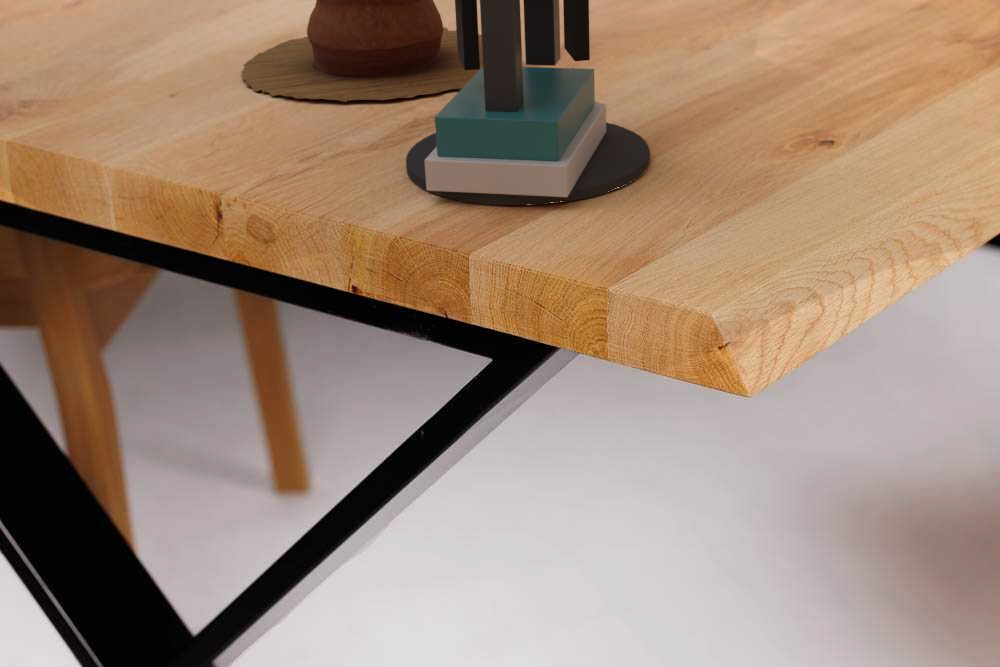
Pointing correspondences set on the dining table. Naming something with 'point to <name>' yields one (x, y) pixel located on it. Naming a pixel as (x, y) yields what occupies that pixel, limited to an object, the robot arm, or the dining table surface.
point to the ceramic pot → (364, 54)
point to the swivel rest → (605, 171)
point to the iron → (517, 112)
